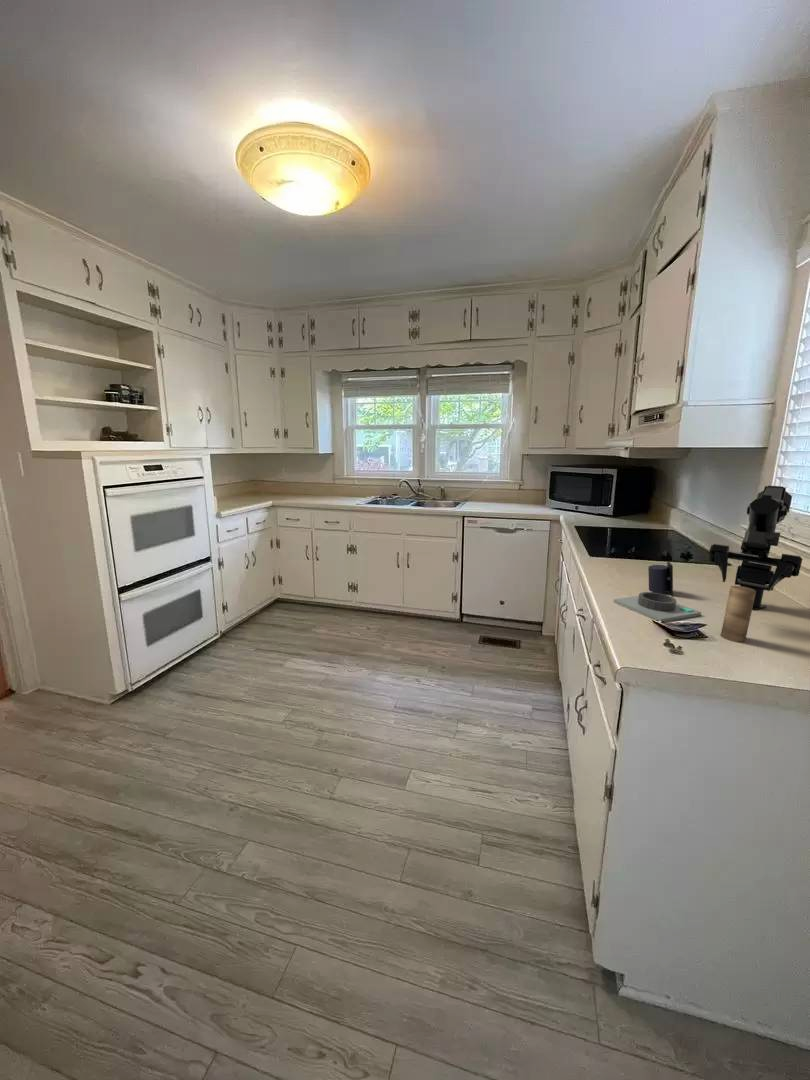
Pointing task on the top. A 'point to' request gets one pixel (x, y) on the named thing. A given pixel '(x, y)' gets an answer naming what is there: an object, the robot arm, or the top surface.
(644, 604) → the socket
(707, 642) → the top surface
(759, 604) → the robot arm
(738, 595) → the plug
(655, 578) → the speaker
